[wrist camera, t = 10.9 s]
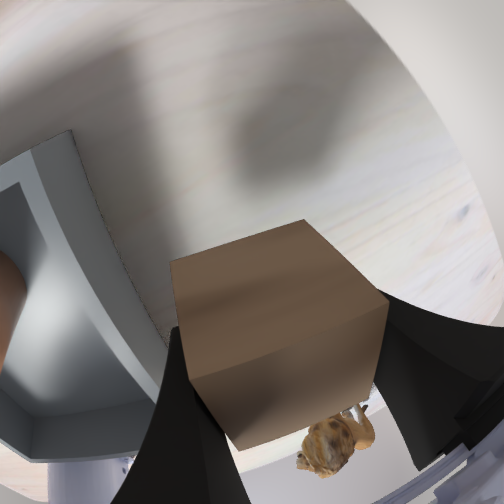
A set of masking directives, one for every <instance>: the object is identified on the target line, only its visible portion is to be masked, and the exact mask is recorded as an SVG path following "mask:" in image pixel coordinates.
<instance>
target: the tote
mask: <svg viewBox="0 0 504 504" xmlns="http://www.w3.org/2000/svg"><path fill="white" fill-rule="evenodd" d="M0 250H1V251H2V252H3V253H5V254H6V255H7V256H8V257H9V258H10V259H11V260H12V261H13V262H14V263H15V264H16V266H17V267H18V269H19V270H20V272H21V274H22V276H23V278H24V281H25V284H26V289H27V300H26V304H25V306H24V308H23V311H22V313H21V316H20V318H19V321H18V323H17V326H16V328H15V331H14V334H13V337H12V339H11V342H10V345H9V348H8V351H7V354H6V357H5V360H4V363H3V367H2V370H1V373H0V443H2V444H3V445H5V446H6V447H8V448H9V449H10V450H12V451H13V452H15V453H16V454H18V455H19V456H21V457H23V458H24V459H26V460H27V461H29V462H31V463H63V462H81V461H94V460H104V459H113V458H121V457H128V456H135V455H137V454H138V452H139V449H140V447H141V445H142V442H143V440H144V437H145V435H146V432H147V430H148V427H149V424H150V421H151V418H152V415H153V412H154V409H155V406H156V402H157V399H158V395H159V391H160V387H161V384H162V379H163V375H164V370H165V365H166V361H167V355H168V348H167V346H166V345H165V343H164V341H163V340H162V338H161V336H160V334H159V333H158V331H157V329H156V327H155V325H154V324H153V322H152V320H151V318H150V316H149V314H148V313H147V311H146V309H145V307H144V305H143V303H142V301H141V299H140V297H139V296H138V294H137V292H136V290H135V288H134V286H133V284H132V282H131V280H130V278H129V276H128V274H127V272H126V269H125V267H124V265H123V263H122V261H121V259H120V257H119V255H118V252H117V250H116V248H115V246H114V244H113V241H112V239H111V237H110V235H109V232H108V230H107V228H106V225H105V223H104V220H103V218H102V216H101V213H100V211H99V208H98V206H97V203H96V201H95V198H94V196H93V193H92V190H91V188H90V185H89V182H88V180H87V177H86V174H85V171H84V168H83V166H82V163H81V160H80V157H79V154H78V151H77V148H76V145H75V141H74V138H73V135H72V132H71V129H70V130H68V131H66V132H63V133H61V134H59V135H57V136H55V137H53V138H51V139H49V140H47V141H44V142H42V143H40V144H38V145H37V146H35V147H33V148H31V149H29V150H27V151H25V152H23V153H21V154H20V155H18V156H16V157H14V158H13V159H11V160H9V161H8V162H6V163H4V164H2V165H1V166H0Z"/></svg>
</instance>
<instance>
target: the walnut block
mask: <svg viewBox="0 0 504 504" xmlns="http://www.w3.org/2000/svg"><path fill="white" fill-rule="evenodd" d="M170 269H171V277H172V284H173V291H174V298H175V304H176V311H177V317H178V323H179V329H180V335H181V340H182V346H183V351H184V356H185V361H186V367H187V371H188V376H189V380H190V382H191V384H192V385H193V387H194V388H195V390H196V391H197V393H198V394H199V396H200V397H201V399H202V400H203V402H204V403H205V405H206V406H207V408H208V409H209V411H210V412H211V414H212V415H213V417H214V418H215V420H216V421H217V422H218V424H219V425H220V427H221V428H222V429H223V431H224V432H225V434H226V435H227V436H228V438H229V439H230V440H231V442H232V443H233V444H234V446H235V447H236V448H237V450H238V451H242V450H246V449H249V448H252V447H255V446H258V445H261V444H264V443H267V442H270V441H273V440H275V439H278V438H281V437H283V436H286V435H289V434H291V433H294V432H296V431H299V430H301V429H304V428H306V427H309V426H311V425H313V424H316V423H318V422H320V421H322V420H325V419H327V418H329V417H331V416H333V415H336V414H338V413H340V412H342V411H344V410H346V409H348V408H350V407H352V406H354V405H356V404H358V403H360V402H362V401H364V400H366V399H368V398H369V394H370V391H371V387H372V383H373V379H374V375H375V371H376V367H377V363H378V359H379V354H380V350H381V345H382V340H383V335H384V330H385V325H386V320H387V314H388V308H389V301H388V300H387V299H386V298H385V297H384V296H383V295H382V294H381V293H380V291H379V290H378V289H377V288H376V287H375V286H374V285H373V284H372V283H370V282H369V281H368V280H367V279H366V278H365V277H364V276H363V275H362V274H361V273H360V272H359V271H358V270H357V269H356V268H355V267H354V266H353V265H352V264H351V263H350V262H349V261H348V260H347V259H346V258H345V257H344V256H343V255H342V254H341V253H340V252H339V251H338V250H336V249H335V248H334V247H333V246H332V245H331V244H330V243H329V242H328V241H327V240H326V239H325V238H324V237H323V236H322V235H320V234H319V233H318V232H317V231H316V230H315V229H314V228H313V227H312V226H311V225H310V224H309V223H307V222H306V221H305V220H304V219H303V220H299V221H296V222H293V223H290V224H287V225H283V226H280V227H277V228H274V229H271V230H267V231H264V232H261V233H258V234H255V235H252V236H248V237H245V238H242V239H239V240H236V241H233V242H230V243H227V244H223V245H220V246H217V247H214V248H211V249H208V250H205V251H202V252H199V253H196V254H193V255H189V256H186V257H183V258H180V259H177V260H174V261H171V262H170Z"/></svg>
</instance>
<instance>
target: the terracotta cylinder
mask: <svg viewBox="0 0 504 504" xmlns="http://www.w3.org/2000/svg"><path fill="white" fill-rule="evenodd" d="M26 300H27V289H26V284H25V281H24V278H23V276H22V274H21V272H20V270H19V269H18V267H17V266H16V264H15V263H14V262H13V261H12V260H11V259H10V258H9V257H8V256H7V255H6V254H5V253H3V252H2V251H1V250H0V373H1V370H2V367H3V363H4V360H5V357H6V354H7V351H8V348H9V345H10V342H11V339H12V337H13V334H14V331H15V328H16V326H17V323H18V321H19V318H20V316H21V313H22V311H23V308H24V306H25V304H26Z"/></svg>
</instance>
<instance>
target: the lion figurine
mask: <svg viewBox="0 0 504 504" xmlns="http://www.w3.org/2000/svg"><path fill="white" fill-rule="evenodd" d="M367 407H368V405H364V406H363V407H362V408H361V406H360V405H359V403H358V404H356V405H354V409H355V411H356V412H357V415H358V421H359V423H358V422H356V421H355V420H354V418H353V415H352V413H351V412H350V411H349V410H346V411H344V412H343V413H342V415H341V414H340V413H338V414H336V415H333V416H331V417H329V418H327V419H325V420H322V421H320V422H318V423H316V424H313V425H311V426H310V427H309V429H308V432H309V434H308V435H307V436H306V437H305V439H304V441H303V442H302V450H303V451H298V452H297V456H298V459H297V461H296V464H297V468H298V469H305V470H309V471H312V472H315V474H318V476H319V477H320V478H326V477H330V476H332V475H334V474H336V473H337V472H338V471H339V470H340V469H341V468H342V467H343V466H344V465H345V464H346V463H347V462H348V459H349V457H350V456H352V454H353V453H354V448H355V449H358V450H363V449H366V448H368V447H370V446H371V444H372V443H373V442H374V440H375V432H374V429H373V426H372V424H371V423H370V421H369V420H368V418H367V417H366V416H365V414H364V412H365V410H366V409H367ZM342 416H343V417H344V418H343V417H342Z"/></svg>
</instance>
